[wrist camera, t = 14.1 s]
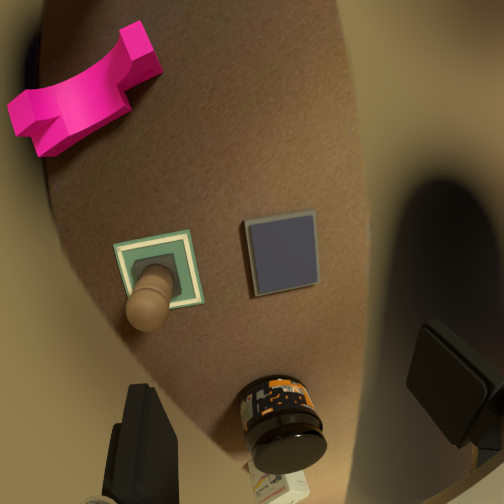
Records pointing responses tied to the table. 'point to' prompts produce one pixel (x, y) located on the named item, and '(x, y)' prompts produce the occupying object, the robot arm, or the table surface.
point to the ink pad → (283, 251)
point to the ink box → (278, 487)
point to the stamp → (153, 292)
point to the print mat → (159, 246)
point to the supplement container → (281, 425)
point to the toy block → (85, 96)
